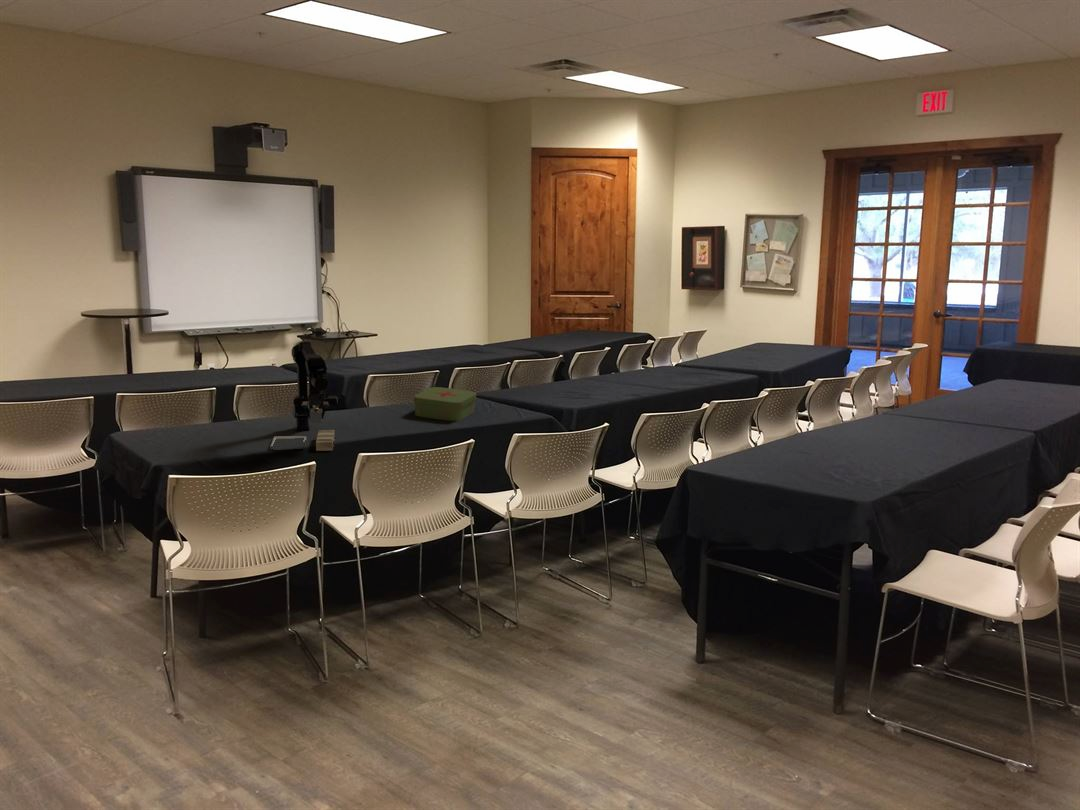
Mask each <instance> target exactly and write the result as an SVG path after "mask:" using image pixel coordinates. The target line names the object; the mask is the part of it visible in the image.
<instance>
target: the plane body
mask: <svg viewBox="0 0 1080 810" xmlns="http://www.w3.org/2000/svg"><path fill="white" fill-rule="evenodd" d="M335 431H336V430H334V429H326V430H325V429H324V430H323V429H321V430H320V429H318V432H317V437H316V440H315V451H316V452H322V451H323V452H325V451H326V452H328V451H330V452H331V451H334V445H333V441H334V442H335V439H334V437H335V438H336V436H335Z"/></svg>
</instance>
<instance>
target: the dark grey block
mask: <svg viewBox="0 0 1080 810" xmlns="http://www.w3.org/2000/svg"><path fill="white" fill-rule="evenodd" d="M322 411H323V408H319V407H314V409H311V410H310V419H309V424H321V423H323V419H322Z"/></svg>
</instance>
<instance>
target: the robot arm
mask: <svg viewBox="0 0 1080 810" xmlns="http://www.w3.org/2000/svg"><path fill="white" fill-rule="evenodd" d="M291 357H292V361H293V362H294V363H295V364H296V380H297V381H296V383H297V395H295V396H294V397H293V407H292V410H291V415H292V417H293V418H294V419H295V422H296V426H295V429H294V430H295V431H310V430H311V425H310V410H311V409H314V408H315V407H314V406H321V405H322V420H324V416H325V414H326V411H327V409H328V408H329V407H331V406H337V405H338V402H339V401H338V398H339V397H338V396H337V395H328V397H326V393H323V391H324V390H326V389H327V387H328V385H329V384H328V380H327V378H325V377H324V375H325V374H327V371H328V369H327V363H326V361H325V359H324V358H323V357H322V355H320V354H316V352H315V350H314V349H313V347H312V343H311V342H310V341H300V342H298V344H296V345H294V346H293V347H292V349H291ZM321 403H323V404H321Z"/></svg>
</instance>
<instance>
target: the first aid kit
mask: <svg viewBox="0 0 1080 810" xmlns="http://www.w3.org/2000/svg"><path fill="white" fill-rule="evenodd" d="M476 399H477V393H476V392H475V391H471V390H464V389H457V388H456V389H455V388H448V387H442V386H441V387H439V386H434V387H429V388H427V389H425V390H424V391H421V392H420V393H417V394H415V395H414V396H413V403H414V404H415V405H414V415H415V416H417V417H420V418H429V419H435V420H443V421H449V422H450V421H451V422H459V421H461V420H463V419H465V418H466V417H468V416H469V415H471V414H472V413H474V412H475V403H476V402H475V400H476Z"/></svg>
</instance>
